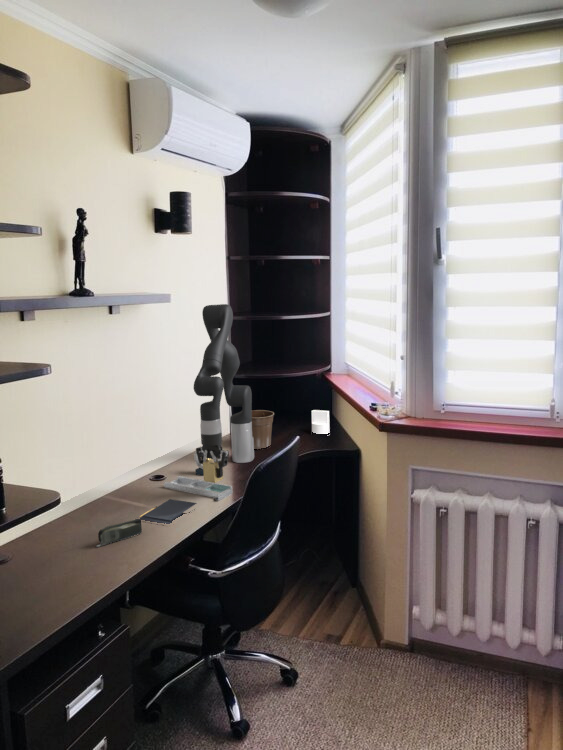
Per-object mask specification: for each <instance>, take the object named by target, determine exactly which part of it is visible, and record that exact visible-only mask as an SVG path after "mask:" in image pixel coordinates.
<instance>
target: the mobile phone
mask: <svg viewBox="0 0 563 750" xmlns="http://www.w3.org/2000/svg"><path fill="white" fill-rule="evenodd" d="M134 519H135V520H134ZM134 519H132V520H128V521H127V520H126V521H124V522H120V523H116V524H115V523H114V524H111V525H107V526H105V527H104V528H102V529H100V530H99V531H98V534H97V535H98V536H97V538H98V542H99V544H96V545H95V548H100V547H102V546H106V545H109V543H110V544H113V543H116V541H117V542H120V541H123V540H126V539H125V538H127V539H129V538H128V537H130V538H132V537H131V536H134V535H137V534H139V535H141V534H142V530H143V529H142V522H141V520H140V519H136V518H134ZM140 533H141V534H140ZM137 536H138V535H137ZM134 537H135V536H134ZM122 539H123V540H122ZM119 540H120V541H119ZM112 542H113V543H112Z"/></svg>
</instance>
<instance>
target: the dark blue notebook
mask: <svg viewBox="0 0 563 750" xmlns="http://www.w3.org/2000/svg"><path fill="white" fill-rule="evenodd" d="M197 504H198V503H197V502H192V501H186V500H185V501H184V500H179V499H171V498H169V499H168V500H166V501H165V502H162V504H159V505H158V506H155V507H153V508H151V509H149V510H148V511H145V513H143V514H141V515H140V516H138V517H140V520H145V521H150V522H157V523H164V524H165V523H166V524H170V523H172V521H173V520H175V519H176V518H178V517H180V516H182V515H183V514H187V513H185V512H186V511H187V510H189V509H191V508H192V507H194V506H195V505H197ZM195 509H196V508H194V509H193V510H194V511H196V510H195ZM190 512H191V511H189V512H188V513H190ZM190 514H191V513H190Z"/></svg>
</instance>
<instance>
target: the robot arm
mask: <svg viewBox="0 0 563 750" xmlns="http://www.w3.org/2000/svg"><path fill="white" fill-rule="evenodd" d="M202 319H203V324H204V326H205V327H204V328H205V330H206V332H207V335H208V336H209V337H208V338H209V340H210V342H209V344H208V345H207V346H206V348H205V350H204V353H203V359H202V365H201V368H200V370H199V372H198V374H197V375H196V377H195V379H194V382H193V390H194V394H196V396H198V397H212V400H210V401H205V402H202V403H201V404H200V409H199V412H200V413H199V414H200V440H201V441H200V444H201V445H202V446H198V447H196V448H195V452H196V453H197V457H198V461H199V464H201V465H203V462H205V461H208V460H210V459H213V461H214V463H216V467H217V478H221V477H222V476H223V477H224V468H225V467H227V465H228V462H229V455H230V451H229V450H225V449H224V448H223V446H222V444H223V433H222V431H223V430H222V422H221V401H222V396H223V392H224V397H225V403H226V404H227V405H228V407H231V408H232V407H233V408H234V407H235V408H238V407H240V408H242V410H241V411H239V412H236V413H234V414H232V415H231V416H230V434H231V435H230V436H231V437H230V438H231V439H230V440H231V456H232V462H234V463H237V464H245V463H250V462H252V461H254V459H255V450H254V438H253V437H252V409H253V408H252V407H253V406H252V403H253V400H252V399H253V397H252V396H253V394H252V389H251V386H249V385H234V383H233V379H234V377H235V375H236V374H237V372H238V370H239V367H240V365H241V363H240V358H239V353H238V350H237V348H236V347H235V345H233V343H232V342H230V340H228V339H229V336H230V333H231V329H232V326H233V321H234V312H233V309H232V306H231V305H230V304H226V303H225V304H224V303H221V304H210V305H209V304H208V305H205V306H204V307H203V308H202ZM218 374H220V376H217V375H218ZM219 462H220V464H219Z"/></svg>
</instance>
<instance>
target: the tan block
mask: <svg viewBox="0 0 563 750" xmlns="http://www.w3.org/2000/svg"><path fill="white" fill-rule="evenodd" d="M219 464H220V462H219ZM202 466H203V472H204V476H203V480H204V481H206V482H212V483H219V482H220V481H223V480H224V475H223V476H222V477H221V478H217V467H216V463H214V461H213V459H210V460H208V461H205V462H203V464H202Z"/></svg>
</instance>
